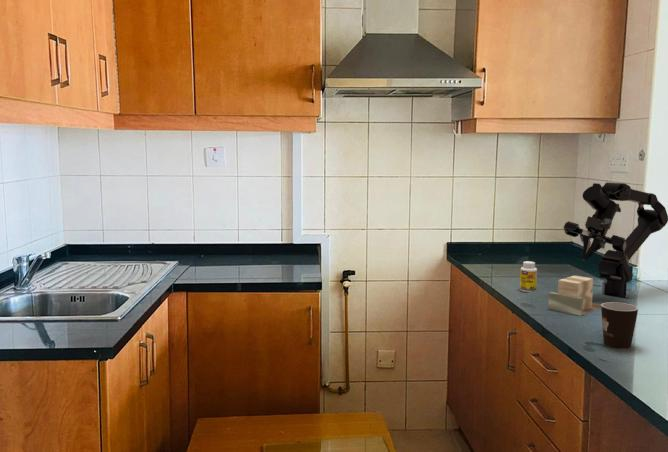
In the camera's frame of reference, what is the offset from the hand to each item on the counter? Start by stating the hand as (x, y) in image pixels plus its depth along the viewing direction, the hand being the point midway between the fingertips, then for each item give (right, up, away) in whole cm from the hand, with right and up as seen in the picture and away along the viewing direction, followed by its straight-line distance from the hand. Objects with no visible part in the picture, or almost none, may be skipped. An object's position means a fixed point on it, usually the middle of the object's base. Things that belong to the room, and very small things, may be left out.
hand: (583, 259), depth 193 cm
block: (-6, -14, -8) cm, 17 cm away
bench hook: (-5, -16, -7) cm, 18 cm away
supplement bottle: (-11, -12, +21) cm, 26 cm away
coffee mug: (-6, -20, -35) cm, 41 cm away
